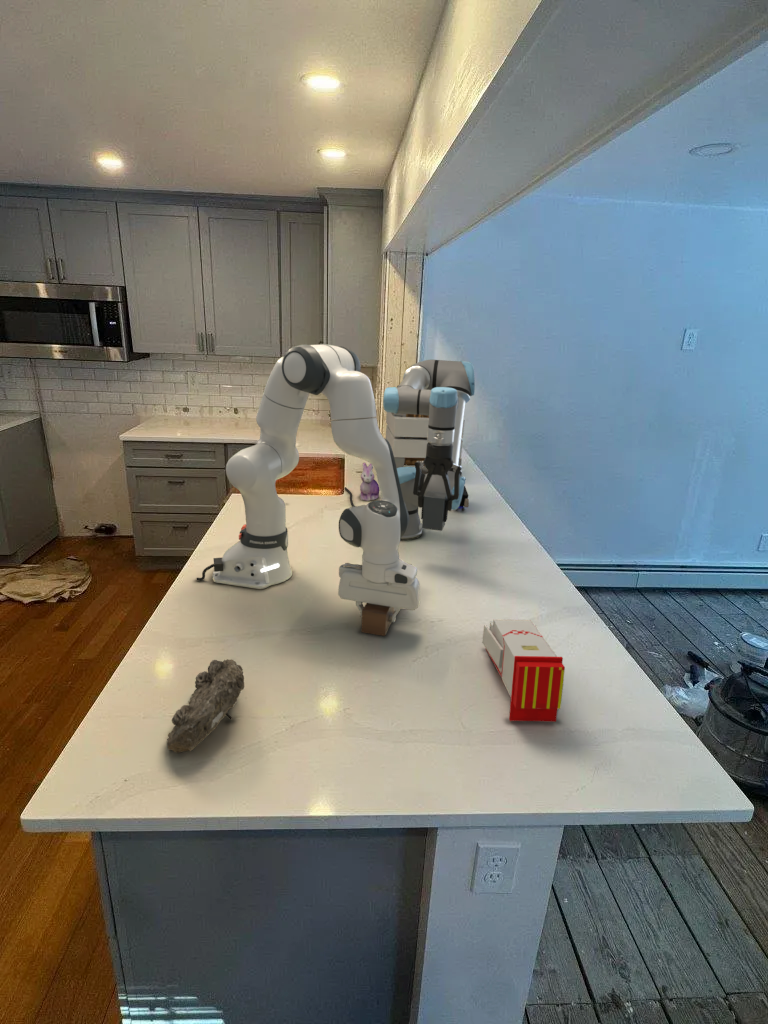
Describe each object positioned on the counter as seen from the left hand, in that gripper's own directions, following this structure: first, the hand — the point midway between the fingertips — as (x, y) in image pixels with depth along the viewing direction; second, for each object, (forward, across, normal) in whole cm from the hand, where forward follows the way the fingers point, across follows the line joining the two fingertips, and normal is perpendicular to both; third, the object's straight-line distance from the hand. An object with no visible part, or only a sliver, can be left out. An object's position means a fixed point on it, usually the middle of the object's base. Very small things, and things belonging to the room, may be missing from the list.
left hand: (377, 618), depth 141 cm
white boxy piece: (+2, -17, +142) cm, 143 cm away
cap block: (-12, +7, +38) cm, 40 cm away
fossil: (+2, -22, -42) cm, 47 cm away
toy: (+2, +34, -12) cm, 36 cm away
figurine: (+2, -30, +96) cm, 101 cm away
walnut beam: (+2, 0, +11) cm, 11 cm away
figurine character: (+2, +8, +98) cm, 99 cm away
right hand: (-14, +7, +38) cm, 41 cm away
